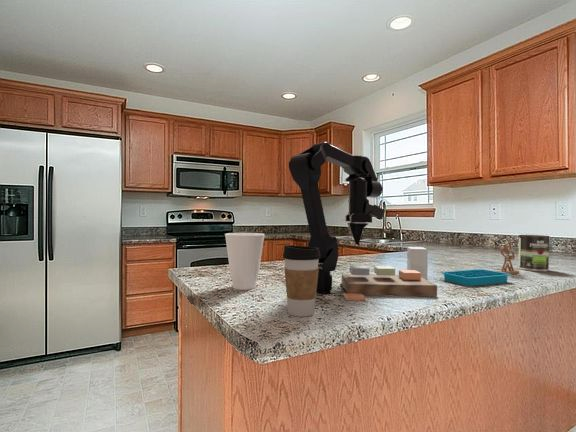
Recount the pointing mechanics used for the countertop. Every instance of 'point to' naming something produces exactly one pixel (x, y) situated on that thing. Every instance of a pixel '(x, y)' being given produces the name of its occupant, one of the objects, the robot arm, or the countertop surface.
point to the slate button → (359, 270)
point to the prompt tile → (354, 297)
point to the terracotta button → (409, 274)
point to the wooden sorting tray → (387, 285)
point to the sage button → (384, 270)
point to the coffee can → (534, 252)
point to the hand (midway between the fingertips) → (357, 244)
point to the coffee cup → (301, 279)
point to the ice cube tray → (475, 277)
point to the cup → (244, 258)
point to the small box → (417, 260)
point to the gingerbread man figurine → (504, 249)
